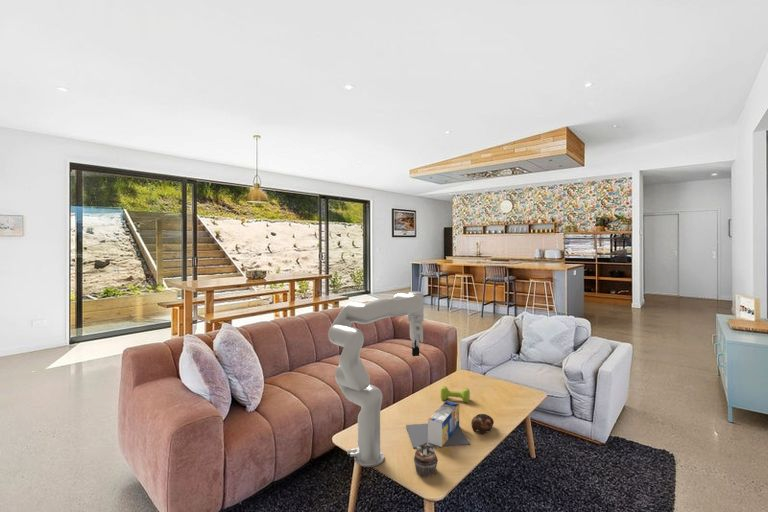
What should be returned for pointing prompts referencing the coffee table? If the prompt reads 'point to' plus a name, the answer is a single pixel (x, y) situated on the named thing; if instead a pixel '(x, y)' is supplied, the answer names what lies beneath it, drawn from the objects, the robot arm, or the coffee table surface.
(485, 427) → the decorative turtle
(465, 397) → the dumbbell
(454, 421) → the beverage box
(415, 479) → the coffee table surface
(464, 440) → the mat
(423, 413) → the coffee table surface
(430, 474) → the cupcake
